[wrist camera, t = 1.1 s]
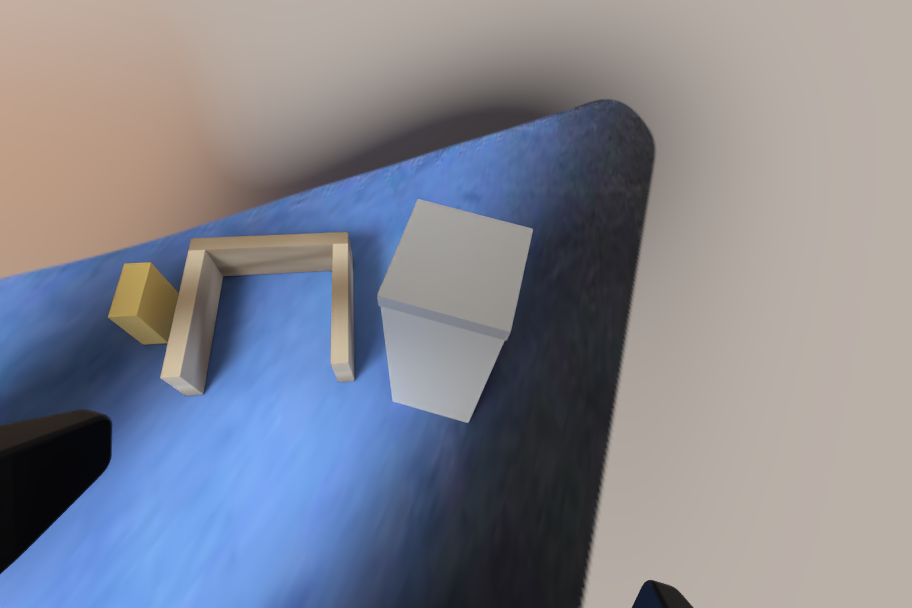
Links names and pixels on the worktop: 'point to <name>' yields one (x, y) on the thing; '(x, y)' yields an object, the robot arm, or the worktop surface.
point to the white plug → (450, 306)
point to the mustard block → (144, 303)
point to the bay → (252, 258)
